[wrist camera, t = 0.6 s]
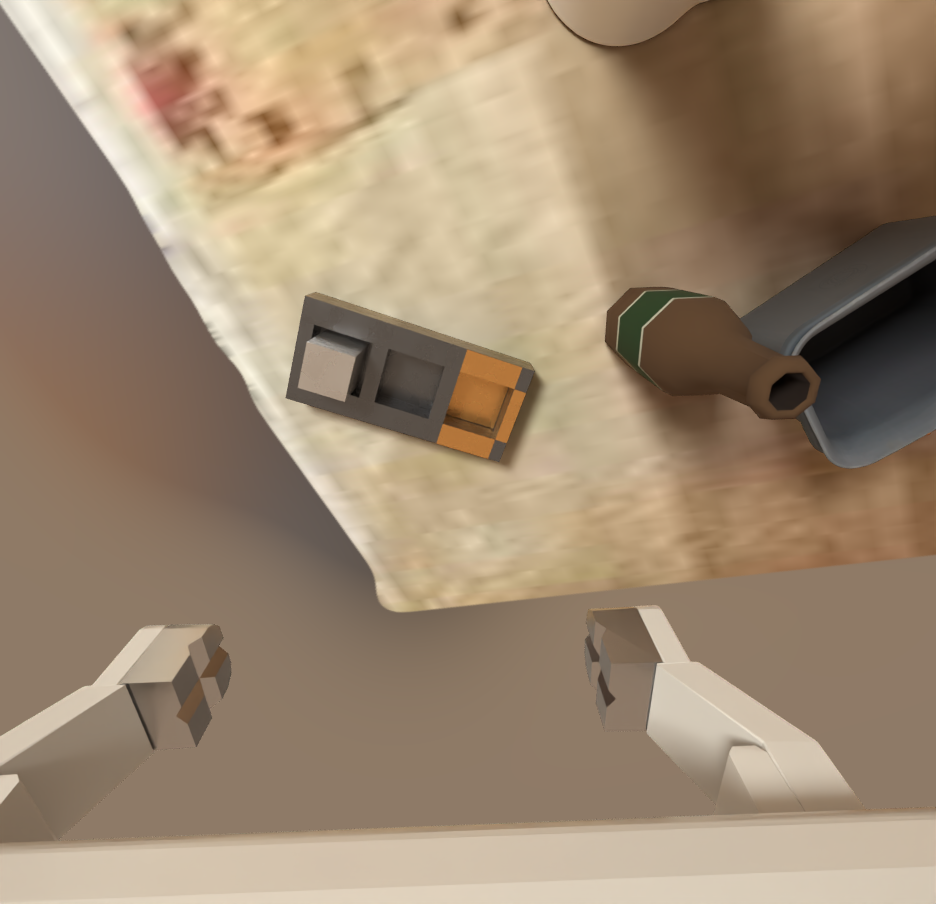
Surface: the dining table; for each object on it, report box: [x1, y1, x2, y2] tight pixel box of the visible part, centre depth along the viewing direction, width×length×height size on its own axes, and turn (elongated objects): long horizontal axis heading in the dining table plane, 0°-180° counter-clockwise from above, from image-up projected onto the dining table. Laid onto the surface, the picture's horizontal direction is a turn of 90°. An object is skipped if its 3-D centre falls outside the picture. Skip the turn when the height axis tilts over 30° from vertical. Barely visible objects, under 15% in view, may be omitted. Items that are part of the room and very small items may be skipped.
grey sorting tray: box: [286, 292, 535, 462], centre depth 48 cm, size 10×22×4 cm, turn 72°
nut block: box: [298, 329, 370, 402], centre depth 45 cm, size 4×4×7 cm
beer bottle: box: [605, 287, 821, 420], centre depth 37 cm, size 8×8×24 cm
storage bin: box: [740, 216, 936, 468], centre depth 41 cm, size 21×16×14 cm
